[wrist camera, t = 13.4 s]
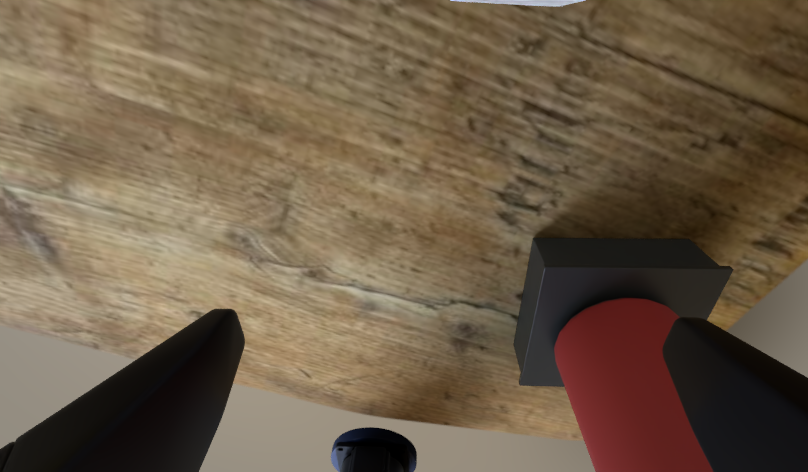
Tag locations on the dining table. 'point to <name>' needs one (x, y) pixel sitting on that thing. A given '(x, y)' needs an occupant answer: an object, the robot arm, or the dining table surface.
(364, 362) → the dining table surface
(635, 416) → the beer can
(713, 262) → the block
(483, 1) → the cup
